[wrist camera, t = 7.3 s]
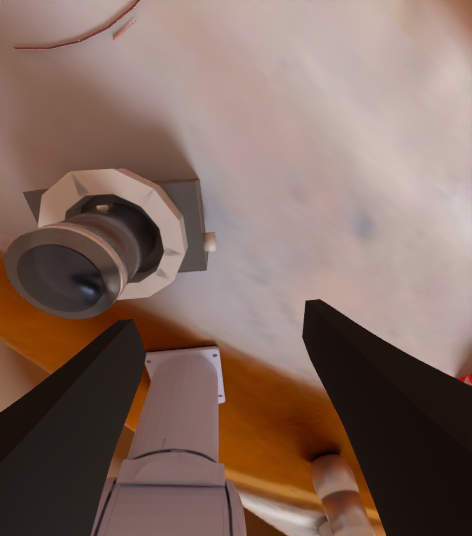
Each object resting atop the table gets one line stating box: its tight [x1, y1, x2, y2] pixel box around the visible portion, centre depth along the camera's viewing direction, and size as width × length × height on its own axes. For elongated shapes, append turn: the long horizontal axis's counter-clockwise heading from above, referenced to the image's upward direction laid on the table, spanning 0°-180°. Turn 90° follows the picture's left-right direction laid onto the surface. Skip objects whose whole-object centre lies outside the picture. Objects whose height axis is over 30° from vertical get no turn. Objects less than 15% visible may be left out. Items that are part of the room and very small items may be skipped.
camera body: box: [23, 168, 216, 300], centre depth 14 cm, size 8×11×4 cm
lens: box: [5, 203, 156, 319], centre depth 11 cm, size 4×4×6 cm
